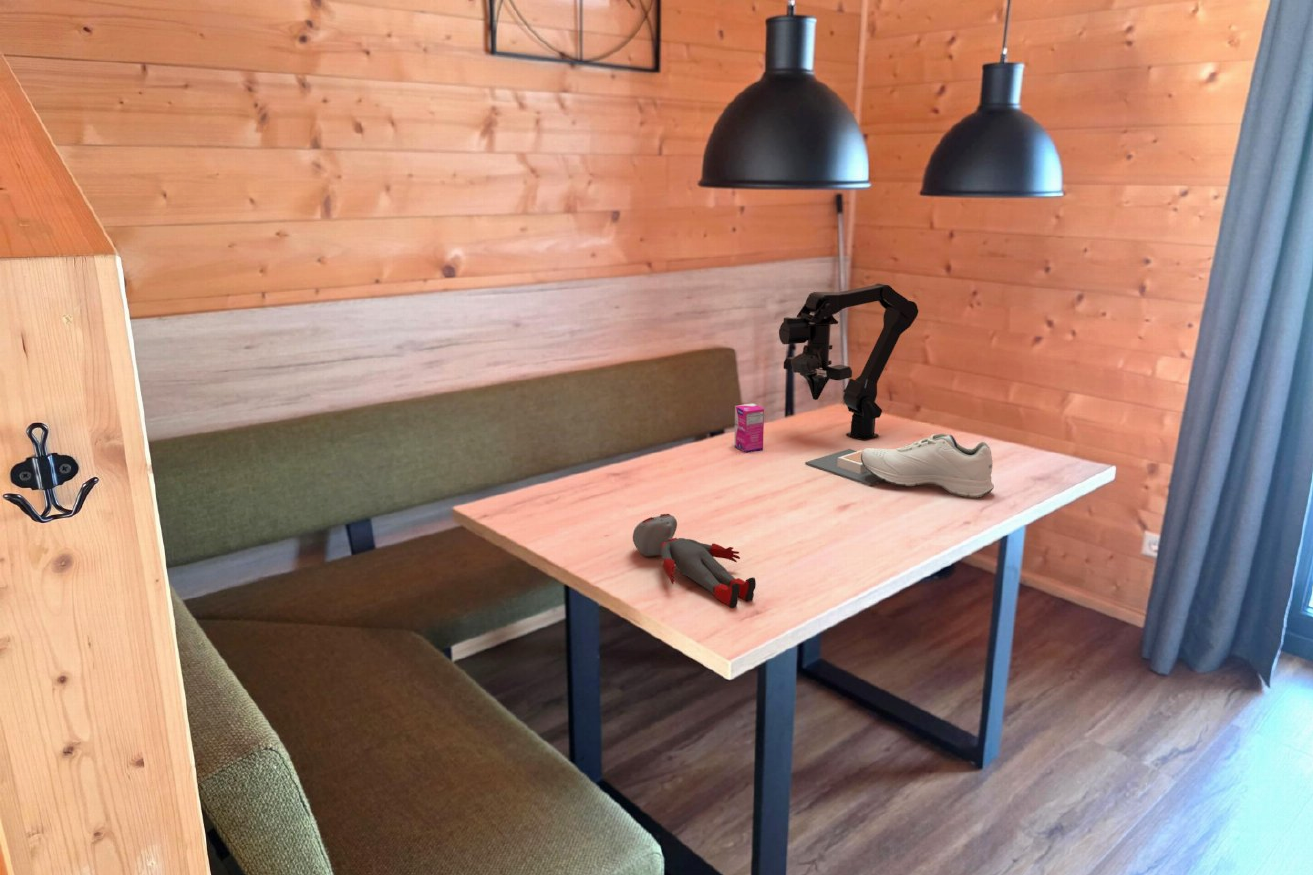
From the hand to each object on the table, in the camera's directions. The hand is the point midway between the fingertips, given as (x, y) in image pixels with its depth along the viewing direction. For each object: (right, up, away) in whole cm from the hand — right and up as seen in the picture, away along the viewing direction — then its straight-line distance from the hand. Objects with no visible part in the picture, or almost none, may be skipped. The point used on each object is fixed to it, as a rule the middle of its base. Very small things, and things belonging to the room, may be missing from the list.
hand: (815, 399), depth 243 cm
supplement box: (-18, -13, -2) cm, 22 cm away
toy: (-36, -36, -73) cm, 89 cm away
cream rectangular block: (+6, -15, -15) cm, 22 cm away
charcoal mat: (+8, -17, -16) cm, 25 cm away
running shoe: (+20, -21, -29) cm, 41 cm away
